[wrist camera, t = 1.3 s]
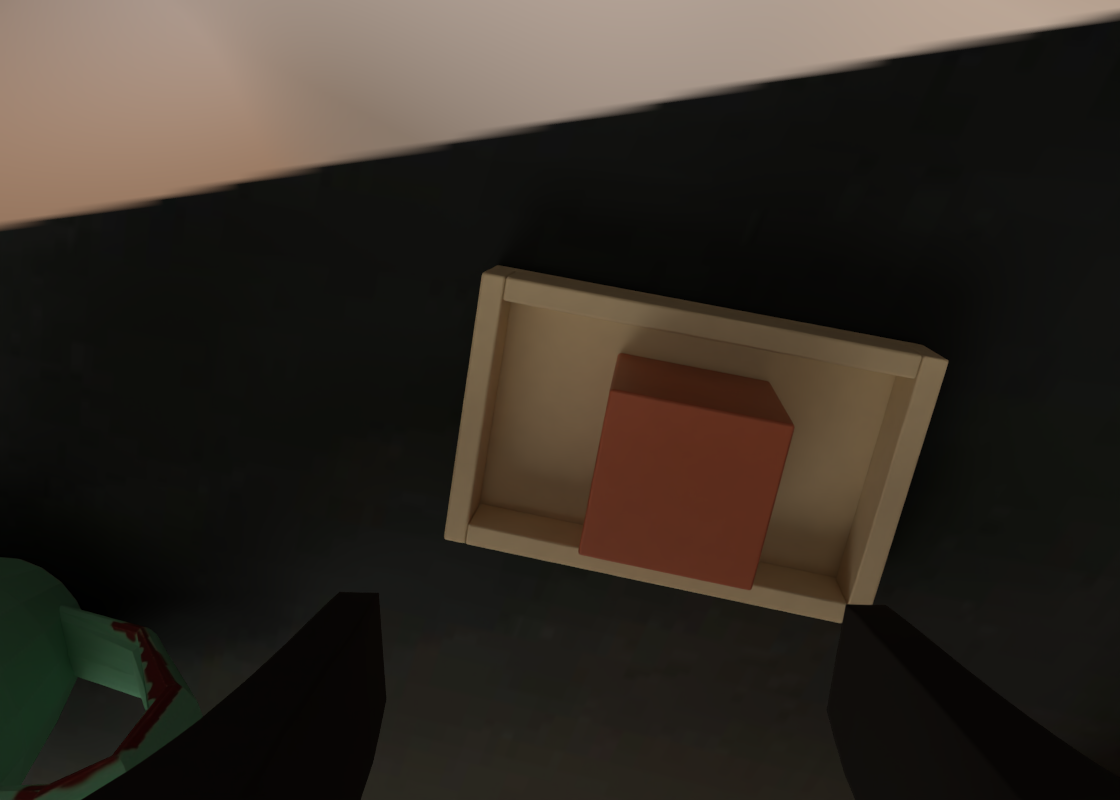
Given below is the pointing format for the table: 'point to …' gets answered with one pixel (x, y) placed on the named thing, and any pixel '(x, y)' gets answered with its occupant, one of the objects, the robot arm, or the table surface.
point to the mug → (52, 669)
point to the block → (686, 471)
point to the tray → (704, 342)
